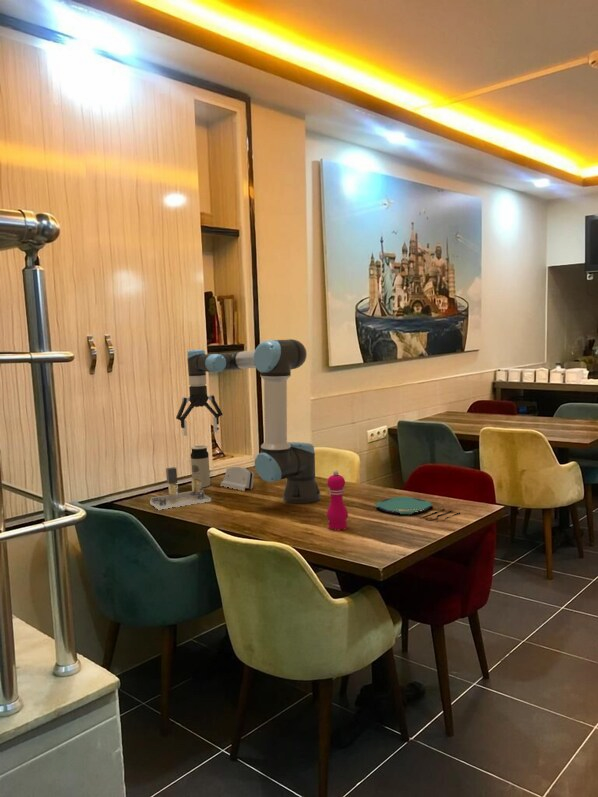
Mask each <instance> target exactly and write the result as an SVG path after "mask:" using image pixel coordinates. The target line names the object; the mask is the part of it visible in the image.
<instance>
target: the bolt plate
mask: <svg viewBox="0 0 598 797" xmlns="http://www.w3.org/2000/svg"><path fill="white" fill-rule="evenodd" d="M201 484H202V482H201V481H199V479H198V478H195V479H192V478H191V490H189V491H183V492H178V494H175V495H170V494H163V495H158V496H151V497H150V500H149V504H150V505H151V507H153V506H154V507H155V510H157V509H158V510H157V511H163V510H162V509H164V510H169V509H168V508H170V509H173V508H172V507H176V508H180V506H182V507H186V506H185V505H188V506H192V505H191V504H194V505H198V504H197V503H200V504H205V502H206V503H210V502H212V497H210V496H209V495H207V494H205V492H204V491H205V490H204V489H202V488H201ZM154 507H153V508H154Z"/></svg>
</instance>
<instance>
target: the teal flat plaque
mask: <svg viewBox="0 0 598 797" xmlns="http://www.w3.org/2000/svg"><path fill="white" fill-rule="evenodd" d="M431 507H433V508H434V506H433V504H432V502H431V501H428V500H424V499H420V498H415V497H410V496H394V497H392V498H390V497H389V498H386V499H383V500H380V501H377V502H376V503H375V508H378V509H379V510H381V511H383V512H387V513H391V514H398V513H400V515H401V514H411V515H412V513H413V514H418V513H419V512H420V513H422V512H423V511H424V512H425V511H428V510H429V509H430V508H431ZM396 509H397V510H396ZM398 509H404V510H406V509H407V510H408V509H409V511H399V510H398ZM410 509H412V510H410ZM413 509H415V510H413ZM416 509H417V510H416ZM423 509H424V510H423ZM388 510H389V511H388ZM420 510H422V511H420ZM392 511H394V512H392ZM415 511H418V512H415Z"/></svg>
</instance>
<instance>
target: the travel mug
mask: <svg viewBox="0 0 598 797" xmlns="http://www.w3.org/2000/svg"><path fill="white" fill-rule="evenodd" d="M190 449H191V453H190V466H191V468H190V470H191V480H192V479H195V478H198V479H199V481H201V482H202V484H201V488H207V487H210V485H211V477H210V476H211V475H210V474H211V473H210V457H209V456H210V454H209V452H208V445H205V444H204V445H203V444H202V445H201V444H199V445H193V446H191V447H190Z"/></svg>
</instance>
